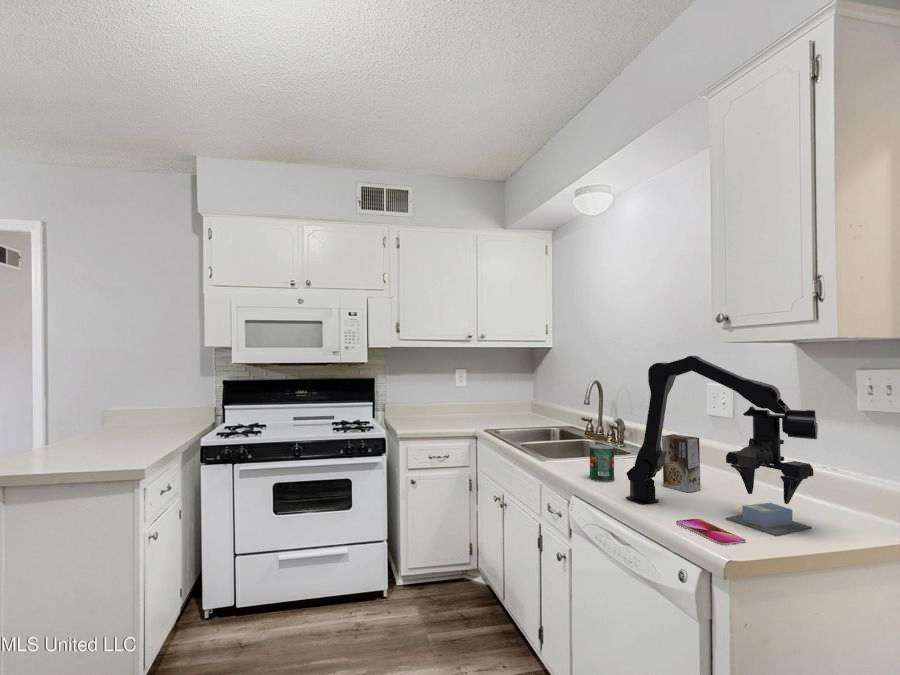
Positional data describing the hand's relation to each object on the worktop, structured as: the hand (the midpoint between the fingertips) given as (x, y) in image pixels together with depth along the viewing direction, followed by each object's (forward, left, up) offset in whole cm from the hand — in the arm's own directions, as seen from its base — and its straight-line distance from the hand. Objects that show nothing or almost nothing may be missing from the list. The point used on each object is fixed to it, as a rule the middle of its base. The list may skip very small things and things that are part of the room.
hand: (767, 498), depth 125 cm
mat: (0, 0, -6) cm, 6 cm away
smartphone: (-2, -19, -7) cm, 20 cm away
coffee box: (-33, +7, -6) cm, 34 cm away
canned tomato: (-52, -8, -6) cm, 53 cm away
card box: (0, 0, -6) cm, 6 cm away
